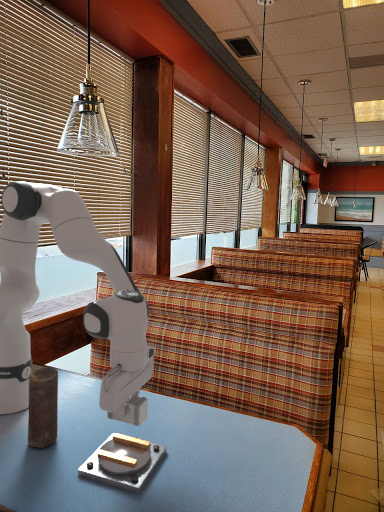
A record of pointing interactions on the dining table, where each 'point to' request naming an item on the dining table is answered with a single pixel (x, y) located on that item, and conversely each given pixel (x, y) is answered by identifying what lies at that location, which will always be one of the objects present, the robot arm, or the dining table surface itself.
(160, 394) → the dining table surface
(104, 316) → the robot arm
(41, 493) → the dining table surface
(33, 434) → the candle
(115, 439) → the turntable fixture plate
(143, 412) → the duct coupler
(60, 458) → the dining table surface
